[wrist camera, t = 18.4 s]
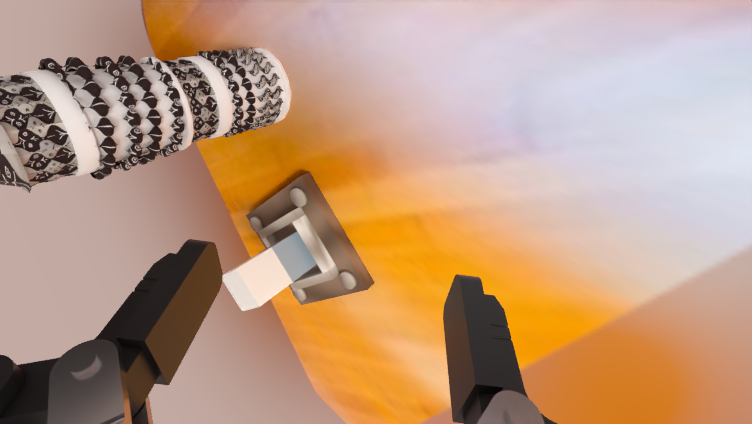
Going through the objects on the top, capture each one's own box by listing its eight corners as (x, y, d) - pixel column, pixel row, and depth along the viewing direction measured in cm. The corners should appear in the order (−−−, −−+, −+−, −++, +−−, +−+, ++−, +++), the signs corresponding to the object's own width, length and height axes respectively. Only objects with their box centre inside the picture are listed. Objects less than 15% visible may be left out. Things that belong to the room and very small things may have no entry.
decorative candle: (291, 49, 36) (-59, 82, 19) (295, 134, 41) (22, 226, 23) (235, 37, 41) (-97, 54, 23) (244, 116, 46) (-21, 182, 28)
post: (283, 238, 49) (220, 276, 42) (301, 229, 46) (236, 268, 39) (301, 268, 50) (242, 311, 43) (320, 261, 46) (259, 306, 39)
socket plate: (254, 211, 54) (237, 219, 52) (309, 172, 43) (291, 180, 41) (307, 299, 55) (293, 310, 53) (374, 282, 44) (360, 296, 42)
